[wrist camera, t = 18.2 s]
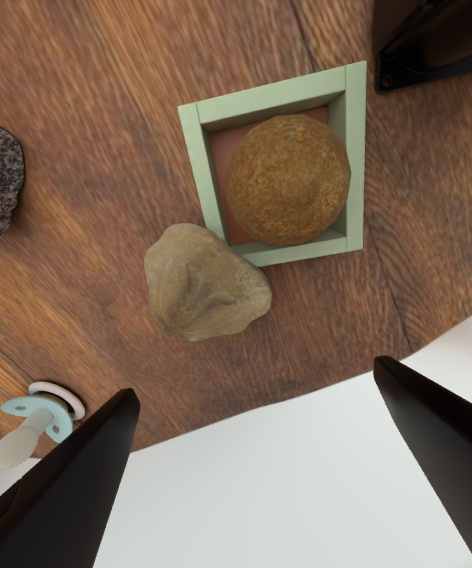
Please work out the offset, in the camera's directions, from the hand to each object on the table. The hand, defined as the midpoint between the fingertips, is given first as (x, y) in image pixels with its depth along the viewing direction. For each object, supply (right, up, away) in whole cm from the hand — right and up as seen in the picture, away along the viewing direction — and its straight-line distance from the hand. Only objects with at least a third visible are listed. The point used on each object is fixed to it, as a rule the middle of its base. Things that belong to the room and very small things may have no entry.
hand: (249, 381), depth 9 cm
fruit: (+2, +10, +8) cm, 13 cm away
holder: (+2, +11, +8) cm, 14 cm away
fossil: (-2, 0, +6) cm, 7 cm away
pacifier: (-20, -9, +18) cm, 29 cm away
